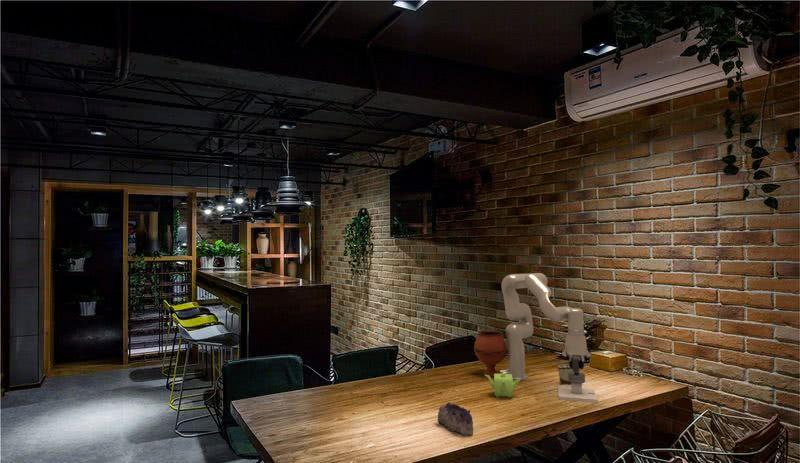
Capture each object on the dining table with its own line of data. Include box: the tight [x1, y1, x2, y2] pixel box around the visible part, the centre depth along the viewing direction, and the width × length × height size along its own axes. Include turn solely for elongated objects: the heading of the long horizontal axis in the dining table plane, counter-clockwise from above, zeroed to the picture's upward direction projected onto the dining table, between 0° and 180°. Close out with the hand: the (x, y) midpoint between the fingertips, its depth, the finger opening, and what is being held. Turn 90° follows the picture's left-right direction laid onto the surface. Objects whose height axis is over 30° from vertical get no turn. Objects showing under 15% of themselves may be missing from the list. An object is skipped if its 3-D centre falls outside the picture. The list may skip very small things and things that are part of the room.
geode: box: [437, 402, 474, 437], centre depth 195 cm, size 20×12×10 cm, turn 28°
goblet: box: [473, 330, 508, 377], centre depth 275 cm, size 19×19×25 cm
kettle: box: [484, 373, 521, 399], centre depth 236 cm, size 15×14×11 cm
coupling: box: [568, 356, 586, 384], centre depth 236 cm, size 9×8×12 cm
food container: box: [556, 363, 582, 386], centre depth 256 cm, size 12×6×10 cm, turn 84°
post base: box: [557, 383, 599, 404], centre depth 235 cm, size 18×18×7 cm
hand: (576, 368), depth 236 cm, fingers closed on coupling, 4 cm apart
